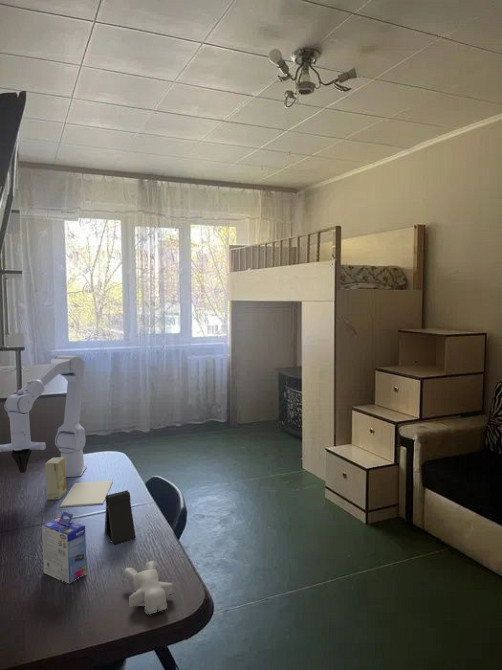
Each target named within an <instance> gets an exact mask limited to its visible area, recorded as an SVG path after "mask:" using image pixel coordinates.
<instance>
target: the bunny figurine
mask: <svg viewBox="0 0 502 670" xmlns="http://www.w3.org/2000/svg"><path fill="white" fill-rule="evenodd" d="M144 567H145V570H141V571H140V572H138V571H137V570H136V569H135V568H133V567H126V568H124V571H123V573H122V577H123V578H125V579H126V580H128V581H129V582H132V583H133V589H134V592H133V593H132V594H131V595H129V596H128V601H129V603H128V604H129V605H130V606H129V605H128V606H129V607H130V608H134V607H133V606H135V605H139V604H142V603H144V605H145V607H144V610H145V609H146V610H147V612H148V613H149V614H151V613H155V612H159V611H161V610H163V609H166V608H167V609H168V603H167V598H166V596H167V595H169V594H172V593H173V594H174V584H173V582H167V581H165V582H164V581H159V573H158V571H157V568H158V567H157V564H156V562H155V561H153V560H150V561H148V562H146V563H145V566H144ZM135 591H136V592H135ZM173 594H172V595H173ZM157 610H159V611H157Z"/></svg>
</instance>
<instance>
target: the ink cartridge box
mask: <svg viewBox="0 0 502 670" xmlns="http://www.w3.org/2000/svg"><path fill="white" fill-rule="evenodd" d="M73 516H74V514H72V513H68V512H66V511H63V512H62V514H61V515H60V516H59V517H57V518H54V519H52V520H49V521H48V522H46V523H44V524H42V525H41V532H42V533H41V534H42V535H41V536H42V537H41V538H42V558H43V559H42V560H43V574H46V575H48V576H50V577H52V578H54V579H57V580H58V581H60V580H62V581H61V582H63V581H65V582H67V583H70V582H72V581H73V580H75V579H77V578H78V577H80V576H82V575H84V574H85V573H87V574H88V564H87V563H88V561H87V542H86V541H87V540H86V537H87V536H86V525H85V524H81V523H78V522H75V521H72V519H73ZM64 517H68V519H66V518H64ZM65 582H64V583H65ZM67 583H66V584H67ZM72 583H73V582H72Z"/></svg>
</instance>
